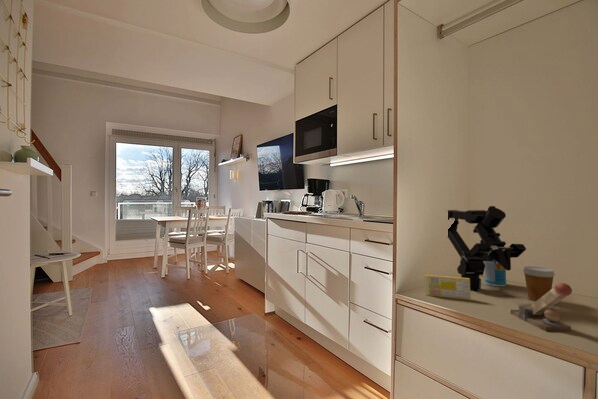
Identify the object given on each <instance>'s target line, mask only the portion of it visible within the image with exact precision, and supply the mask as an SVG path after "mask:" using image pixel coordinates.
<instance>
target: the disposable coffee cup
mask: <svg viewBox="0 0 598 399" xmlns="http://www.w3.org/2000/svg"><path fill="white" fill-rule="evenodd" d="M522 272H523V274H524V280H525V286H526V291H527V292H526V293H527V297H528V299H529V300H530V301H533V302H536V301H537V300H538V299H540V298H541V297H542V296H543V295H545V294H546V293H547V292H549V291H550V290H551V289H552V288H553V281H554V277H555V275H556V273H555V272H554V270H553V269H552V268H549V267H548V268H547V267H541V266H530V265H529V266H524V268H523V269H522Z"/></svg>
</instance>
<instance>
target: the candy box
mask: <svg viewBox="0 0 598 399" xmlns="http://www.w3.org/2000/svg"><path fill="white" fill-rule="evenodd" d="M424 295H425V296H428V297H429V296H430V297H437V296H438V298H446V299H447V298H448V299H457V300H463V301H471V299H472V298H471V290H470V278H461V277H458V276H447V275H434V274H424Z"/></svg>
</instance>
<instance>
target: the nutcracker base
mask: <svg viewBox="0 0 598 399" xmlns="http://www.w3.org/2000/svg"><path fill="white" fill-rule="evenodd" d="M510 314H511V315H513V316H515V317H517V318H518V319H521V320H522V321H524V322H527V323H529V324H530V325H533V326H535V327H537V328H539V329H540V330H543V331H545V332H566V331H567V332H570V331H572V326H570V325H569V324H566V323H564V322H562V321H559V320H560V319H561V315H560V313H559V312H558V311H557V310H556V309H553V308H549V309H547V310H546V311H545V312H544V313H543V315H529V312H528V307H525V306H523V305H519V306H518V309H510Z"/></svg>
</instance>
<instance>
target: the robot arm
mask: <svg viewBox="0 0 598 399" xmlns="http://www.w3.org/2000/svg"><path fill="white" fill-rule="evenodd" d="M447 211H448V220H449V219H455V221H454V223H453V224H452V225H451V227H450V228H449V229H448V236H447V238H448V239H449V241H450V242H451V244H452V245H453V247H454V249H455V250H456V252H457V254H458V256H459V257H460V260H459V265H458V267H457V268H456V269H457V273H458V274H459V275H461V277H460V278H470V291H473V292H474V291H475V292H478V291H479V290H481V288H482V279H481V278H480V276H484V274H485V262H484V261H493V260H495V261H497V262H498V263H499V264H500V265H501V266H503V267H504V268H505V269H506V272H507V271H511V270H512V265H511V264H512V263H511V262H512V260H511V259H512V258H515V259H516V258H519V257H520V256H521V255H522V254H523V253H525V251H526V250H527V247H525V245H524V244H523V243H511V244H510V245H509V246H506V245H507V242H506V241H503V240H501V238H500V236H501V233H500V232H496V230H495V228H498V227H499V226H500V225H501V223H502V222H503V221H504V219H505V218H506V212H505V211H503V210H502V209H500V208H497V207H496V206H495V205H490V206H488V208H487V210H485V209H470V210H469V209H468V210H465V211H464V210H458V209H448V210H447ZM459 220H463V221H465V223H467V224H470V225H473V224H474V225H475V224H476V225H475V226H474V227H473V228H474V229H473V230H472V232H473V234H477V235H478V236H479V238H480V239H481V240H480V241H479V242H475V244H474V245H473V246H472V247H471V249H470V248H469V247H468V245H467V244H466V242H465V241H464V240H463V238H462V236H461V235H460V233H459V232H458V225H459V223H460V222H459ZM502 241H503V242H502Z"/></svg>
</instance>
